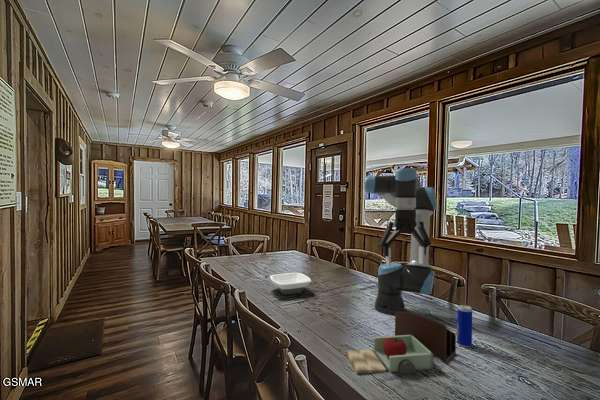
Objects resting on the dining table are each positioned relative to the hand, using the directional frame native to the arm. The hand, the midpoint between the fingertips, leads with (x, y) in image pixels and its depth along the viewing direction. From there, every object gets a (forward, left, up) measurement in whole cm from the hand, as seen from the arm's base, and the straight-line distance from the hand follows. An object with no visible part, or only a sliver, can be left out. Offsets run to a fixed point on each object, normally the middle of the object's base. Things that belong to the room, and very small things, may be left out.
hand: (404, 264), depth 115 cm
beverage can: (+1, +25, -33) cm, 41 cm away
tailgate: (+9, -14, -31) cm, 36 cm away
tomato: (+9, -8, -31) cm, 33 cm away
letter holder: (+1, +8, -33) cm, 34 cm away
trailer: (+9, -6, -33) cm, 34 cm away
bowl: (-72, -36, -33) cm, 87 cm away
